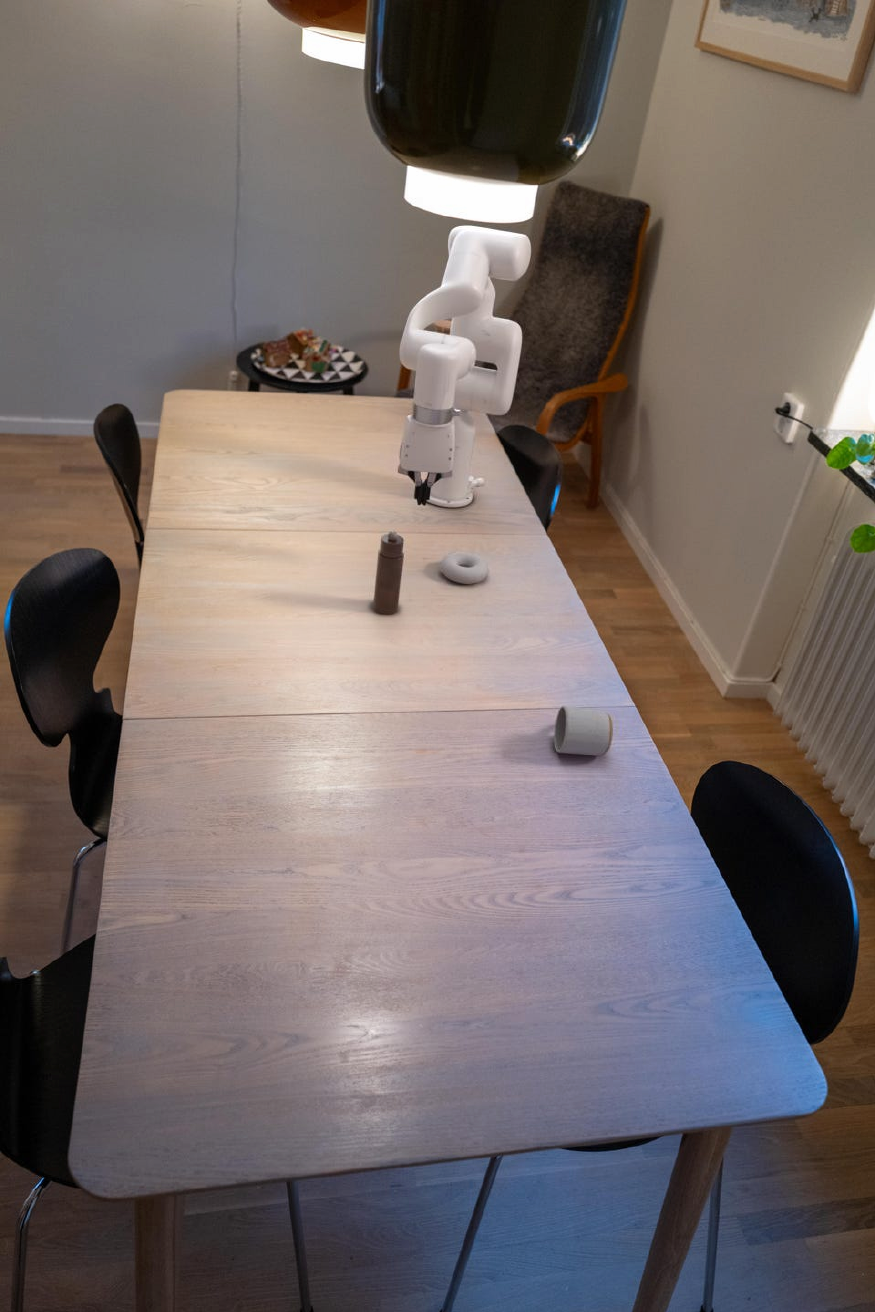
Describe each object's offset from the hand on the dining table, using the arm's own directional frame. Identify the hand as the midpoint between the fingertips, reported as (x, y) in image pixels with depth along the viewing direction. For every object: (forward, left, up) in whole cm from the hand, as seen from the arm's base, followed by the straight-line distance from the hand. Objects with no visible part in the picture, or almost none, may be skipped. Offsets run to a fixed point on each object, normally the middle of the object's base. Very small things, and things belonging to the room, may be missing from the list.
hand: (421, 502), depth 197 cm
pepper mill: (+13, +10, -16) cm, 23 cm away
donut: (-9, +5, -16) cm, 19 cm away
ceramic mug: (+6, +59, -16) cm, 61 cm away
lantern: (-55, -75, -16) cm, 95 cm away
